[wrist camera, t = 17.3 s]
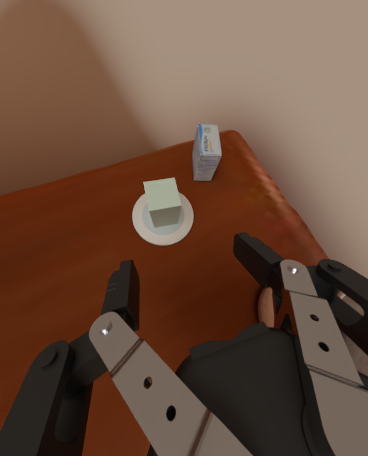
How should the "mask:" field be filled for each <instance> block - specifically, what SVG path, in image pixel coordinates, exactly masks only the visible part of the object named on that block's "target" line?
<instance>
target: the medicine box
mask: <svg viewBox="0 0 368 456" xmlns="http://www.w3.org/2000/svg"><path fill="white" fill-rule="evenodd" d="M221 156H222V153H221V145H220V137H219V130H218V126H217V125H209V124H199V125H198V127H197V132H196V137H195V142H194V147H193V152H192V159H193V173H194V180H195V181H211V179H212V177H213V174H214V172H215V170H216V168H217V165H218V163H219V161H220V159H221Z"/></svg>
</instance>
